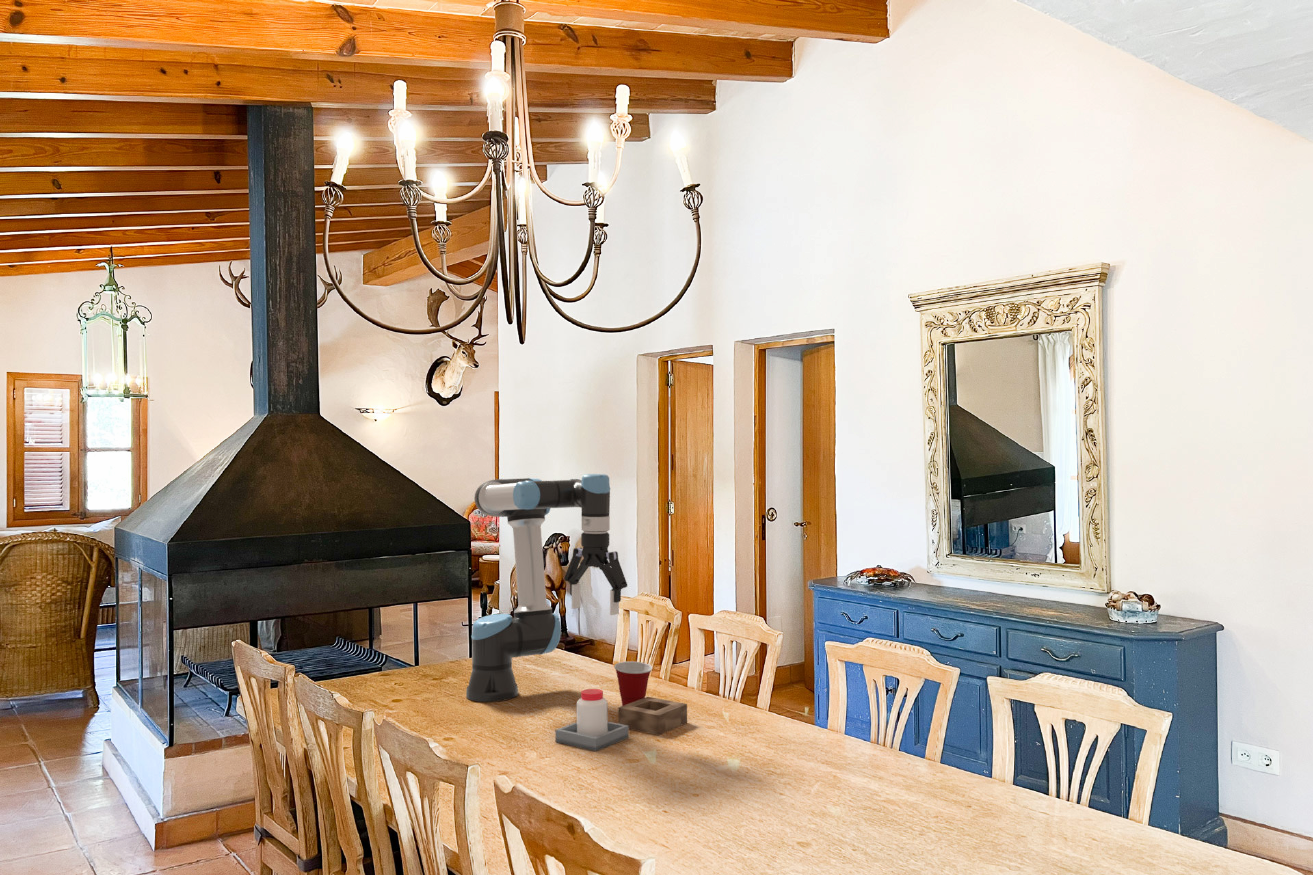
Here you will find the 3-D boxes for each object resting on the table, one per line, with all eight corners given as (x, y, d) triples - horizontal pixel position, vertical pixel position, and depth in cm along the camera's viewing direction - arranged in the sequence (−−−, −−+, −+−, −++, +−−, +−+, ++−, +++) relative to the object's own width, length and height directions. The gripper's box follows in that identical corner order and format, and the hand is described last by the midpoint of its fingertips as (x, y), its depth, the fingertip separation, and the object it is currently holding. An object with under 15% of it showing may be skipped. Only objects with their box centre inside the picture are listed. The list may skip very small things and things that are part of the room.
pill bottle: (609, 730, 235) (609, 687, 235) (605, 740, 227) (605, 695, 228) (579, 730, 236) (579, 687, 236) (574, 739, 228) (574, 695, 228)
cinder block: (618, 726, 242) (618, 707, 242) (647, 714, 253) (647, 696, 253) (658, 734, 235) (658, 715, 235) (687, 722, 245) (687, 703, 245)
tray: (555, 741, 230) (555, 729, 230) (589, 728, 240) (589, 717, 240) (595, 751, 222) (595, 738, 222) (628, 737, 233) (628, 725, 233)
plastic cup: (634, 715, 252) (634, 671, 252) (606, 708, 259) (606, 665, 260) (660, 707, 260) (660, 664, 261) (632, 700, 268) (632, 659, 268)
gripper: (551, 529, 251) (551, 607, 251) (622, 536, 236) (622, 619, 236) (570, 527, 257) (569, 603, 257) (640, 534, 242) (640, 614, 242)
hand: (594, 611), depth 247 cm, fingers open, 13 cm apart
